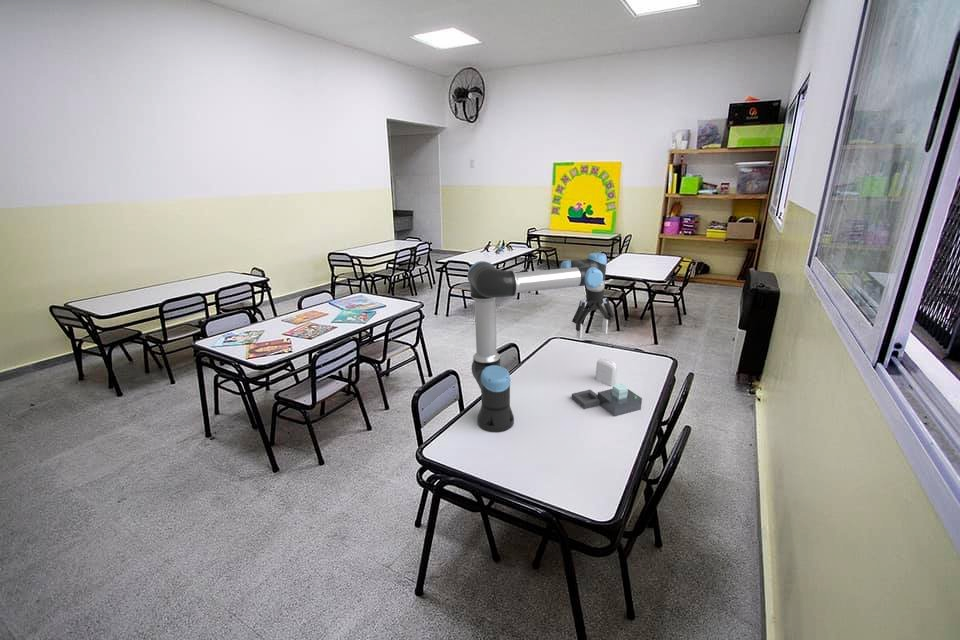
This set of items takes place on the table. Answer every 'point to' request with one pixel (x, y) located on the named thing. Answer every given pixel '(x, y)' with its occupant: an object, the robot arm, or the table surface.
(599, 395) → the port block
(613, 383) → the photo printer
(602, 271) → the robot arm
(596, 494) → the table surface
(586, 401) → the dark grey square tray
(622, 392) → the plug
